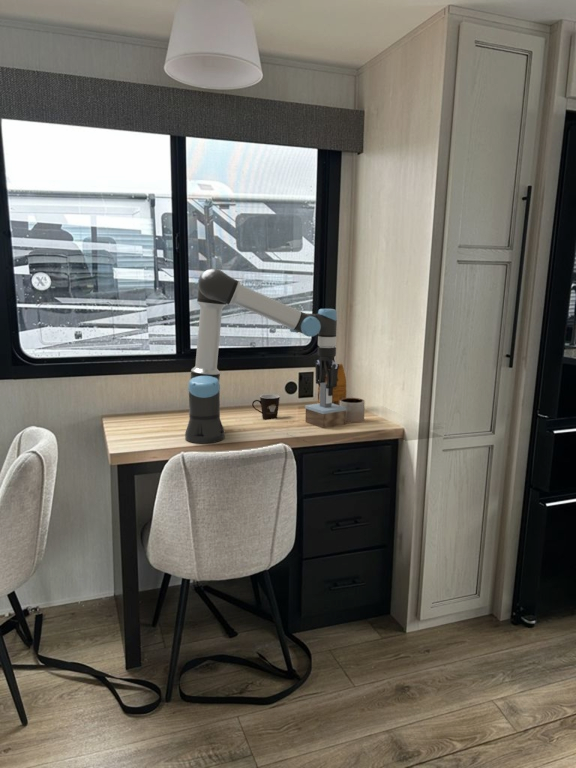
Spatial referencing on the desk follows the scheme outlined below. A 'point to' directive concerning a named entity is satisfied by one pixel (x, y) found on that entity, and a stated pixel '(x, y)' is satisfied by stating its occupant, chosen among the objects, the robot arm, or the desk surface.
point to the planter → (353, 409)
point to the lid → (324, 403)
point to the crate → (325, 418)
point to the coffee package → (338, 391)
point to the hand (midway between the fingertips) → (325, 402)
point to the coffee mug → (268, 406)
